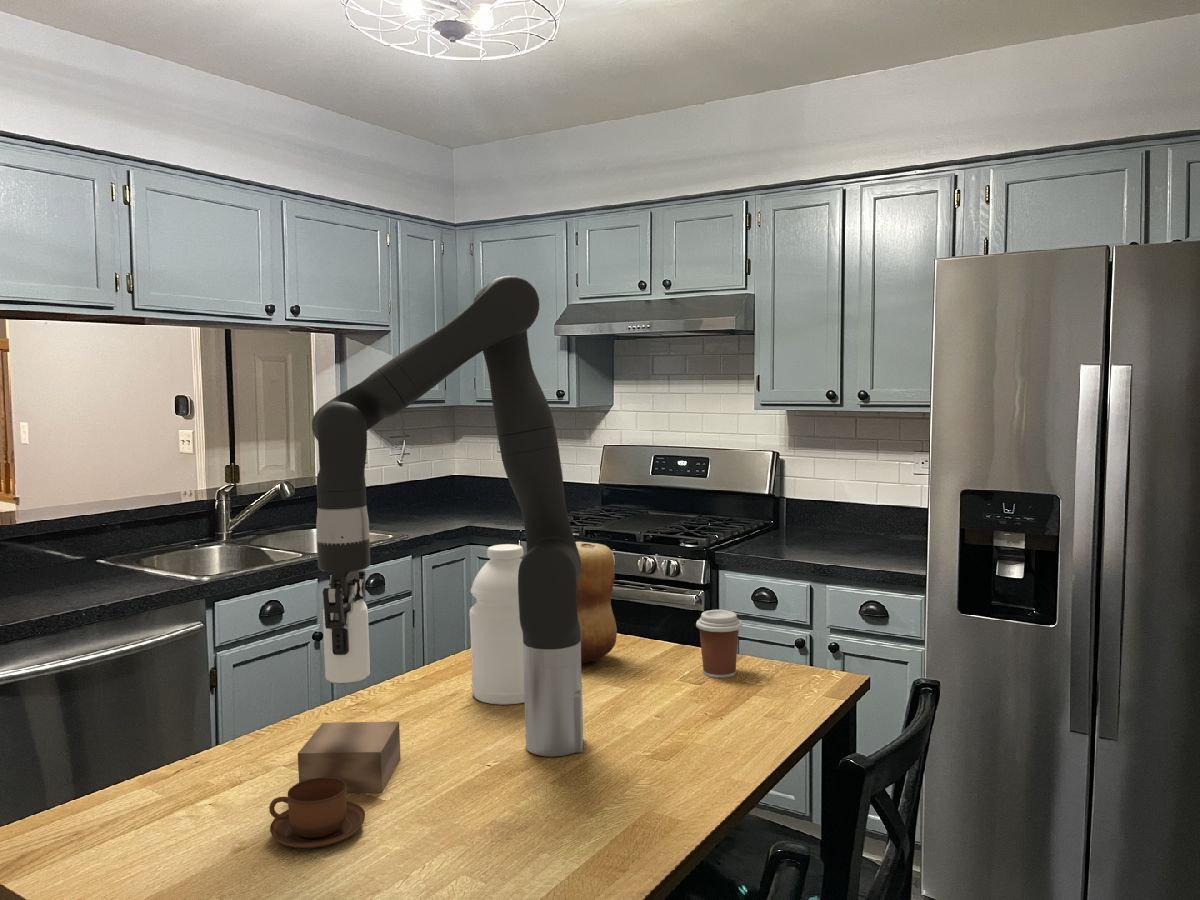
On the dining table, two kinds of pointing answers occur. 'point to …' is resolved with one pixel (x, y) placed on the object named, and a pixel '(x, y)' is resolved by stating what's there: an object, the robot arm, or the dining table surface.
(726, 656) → the coffee cup
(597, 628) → the butternut squash
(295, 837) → the cup and saucer
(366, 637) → the can
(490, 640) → the bottle
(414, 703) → the dining table surface
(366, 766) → the walnut block
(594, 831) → the dining table surface
